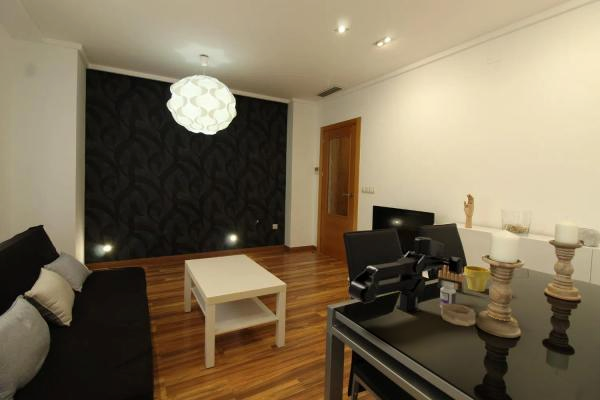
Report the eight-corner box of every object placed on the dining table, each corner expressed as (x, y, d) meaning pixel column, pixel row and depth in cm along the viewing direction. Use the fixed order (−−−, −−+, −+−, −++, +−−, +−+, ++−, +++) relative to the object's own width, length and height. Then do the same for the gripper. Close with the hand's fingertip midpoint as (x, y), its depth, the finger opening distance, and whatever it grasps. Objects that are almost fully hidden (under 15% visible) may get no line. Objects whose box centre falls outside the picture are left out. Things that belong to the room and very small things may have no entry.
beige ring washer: (463, 327, 100) (463, 317, 100) (436, 316, 108) (436, 306, 108) (479, 321, 105) (480, 311, 105) (453, 311, 113) (453, 301, 113)
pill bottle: (451, 305, 119) (453, 281, 118) (457, 311, 114) (458, 285, 113) (437, 304, 119) (438, 280, 119) (442, 310, 114) (443, 285, 114)
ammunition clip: (463, 292, 134) (464, 266, 133) (462, 293, 132) (463, 267, 132) (438, 286, 141) (439, 261, 141) (437, 287, 140) (438, 262, 139)
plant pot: (458, 287, 141) (459, 266, 141) (472, 284, 145) (473, 264, 145) (479, 294, 132) (480, 272, 131) (494, 291, 136) (495, 270, 136)
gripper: (450, 247, 110) (474, 244, 118) (408, 239, 126) (432, 236, 134) (448, 277, 110) (473, 272, 118) (407, 265, 126) (431, 261, 134)
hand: (451, 259), depth 126 cm, fingers open, 9 cm apart
